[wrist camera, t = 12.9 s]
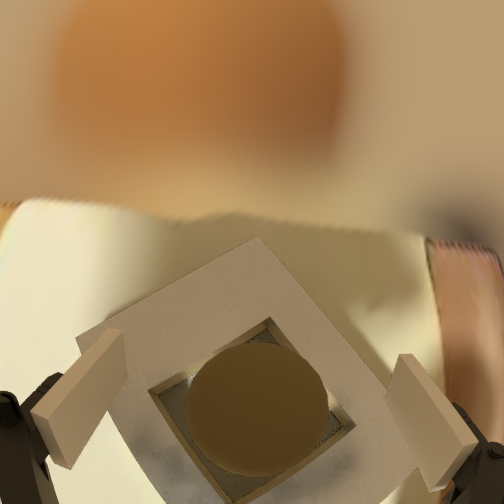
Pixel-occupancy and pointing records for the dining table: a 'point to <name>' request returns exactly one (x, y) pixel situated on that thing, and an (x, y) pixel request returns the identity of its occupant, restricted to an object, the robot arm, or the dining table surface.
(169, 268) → the dining table surface
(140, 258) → the dining table surface
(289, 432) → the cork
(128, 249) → the dining table surface
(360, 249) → the dining table surface
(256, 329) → the plate
